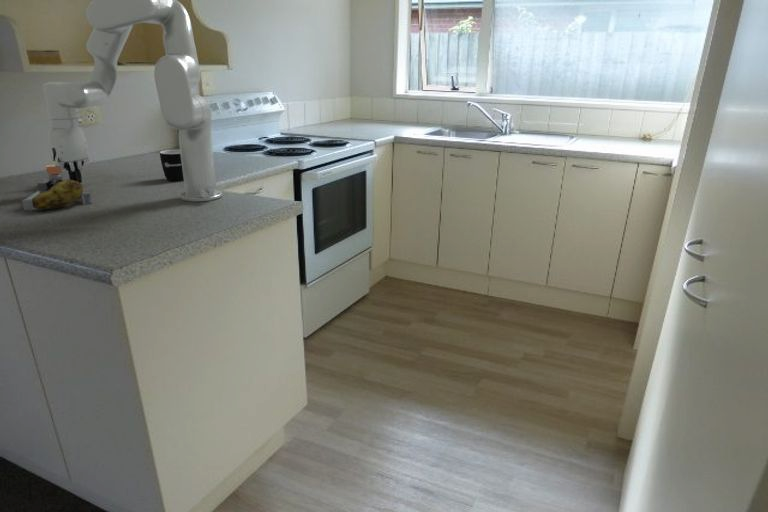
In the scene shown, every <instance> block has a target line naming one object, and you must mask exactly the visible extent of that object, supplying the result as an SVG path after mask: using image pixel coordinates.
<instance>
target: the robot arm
mask: <svg viewBox="0 0 768 512" xmlns="http://www.w3.org/2000/svg"><path fill="white" fill-rule="evenodd" d="M86 18H87V22H88V23H89V25H90V26H91V27H92V28H93V29H92V31H91V33H90V36H89V38H88V40H87V42H86V45H85V48H86V50H87V52H88V53H89V54H90V55H91V56H92V57H93V61H94V66H93V69H92V72H91V74H90V76H89V79H88V80H85V81H76V82H75V81H73V82H67V81H66V82H64V81H50V82H48V81H47V82H45V83H44V84H43V86H42V90H43V93H44V99H45V104H46V109H47V113H48V118H49V124H50V128H51V129H48V147H49V153H50V158H51V160H52V161H53V162H54V165H55V166H57V167H61V168H63V169H65V170H66V171H67V172H68V175H69V176H68V177H69V179H71V180H74V181H77V182H79V183H81V184H82V183H83V180H82V179H83V178H82V172H81V170H82V167H83V166H84V164H86V163H88V162H90V158H89V157H90V151H89V147H88V143H87V139H86V135H85V133H84V131H83V128H82V127H80V124H82V119H81V118H78V112H77V109H86V108H87V109H88V108H93V107H99V106H102V105H103V104H105V103H106V102H107V101H108V100H109V98H110V96H111V95H112V92H113V90H114V88H115V86H116V83H117V79H118V59H119V57H120V55H121V53H122V51H123V48H124V46H125V43H126V42H127V40H128V37H129V36H130V33H131V31H132V29H133V27H134V25H137V24H143V23H144V24H145V23H146V24H154V25H160V26H161V27H162V30H163V31H162V43H163V46H164V52H165V55H164V56H161V57H160V58H159V59H158V60H157V62H156V63H155V65H154V75H153V76H154V83H155V88H156V92H157V97H158V101H159V106H160V107H159V108H160V111H161V114H162V117H163V119H164V121H165V123H166V124H167V125H168V126H169V127H171V128H172V129H174V130H176V131H177V130H178V144H179V150H180V154H181V162H182V170H183V178H184V180H183V184H184V191H183V192H182V193H181V194H180V195H179V196H180V199H181V200H182V201H185V202H207V201H213V200H218V199H220V198H221V197H222V196H223V192H222V190H219V189H217V181H216V172H215V163H214V153H213V141H212V110H211V107H210V103H208V101H207V100H206V98H204V96H201V95H200V94H197V93H192V90H191V89H193V88H196V87H197V86H198V85H199V83H200V81H201V79H202V78H201V76H202V75H201V68H200V65H199V58H198V52H197V47H196V44H195V38H194V37H195V36H194V32H193V25H192V22H191V18H190V14H189V13H188V11H187V9H186V8H185V6H184V5H183V4H182V3H181V2H180V1H179V0H92V1H91V2H90V3H89V4H88V6H87V7H86Z"/></svg>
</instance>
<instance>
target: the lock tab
mask: <svg viewBox="0 0 768 512" xmlns="http://www.w3.org/2000/svg"><path fill="white" fill-rule="evenodd" d="M45 168H46V172H47V175H51V174H58V173H59V174H62V167H57V166H55V164H51V165H50V164H48V165H45Z"/></svg>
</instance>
